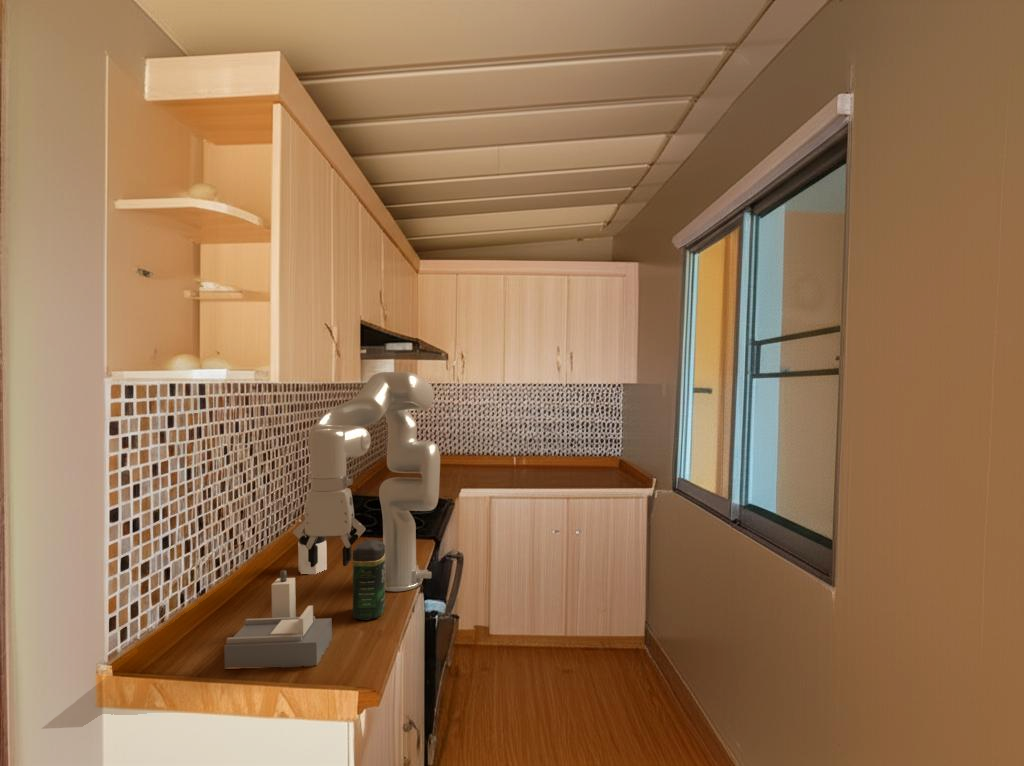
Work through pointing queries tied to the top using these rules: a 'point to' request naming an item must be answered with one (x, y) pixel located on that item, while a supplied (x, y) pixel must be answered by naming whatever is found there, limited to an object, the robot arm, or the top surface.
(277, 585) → the plug
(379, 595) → the coffee jar
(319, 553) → the jar
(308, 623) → the shutter
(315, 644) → the socket block
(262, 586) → the top surface
